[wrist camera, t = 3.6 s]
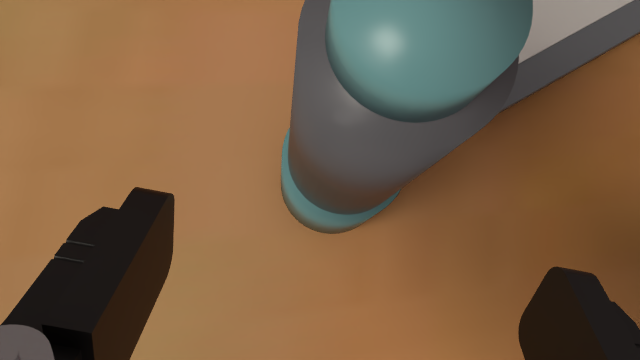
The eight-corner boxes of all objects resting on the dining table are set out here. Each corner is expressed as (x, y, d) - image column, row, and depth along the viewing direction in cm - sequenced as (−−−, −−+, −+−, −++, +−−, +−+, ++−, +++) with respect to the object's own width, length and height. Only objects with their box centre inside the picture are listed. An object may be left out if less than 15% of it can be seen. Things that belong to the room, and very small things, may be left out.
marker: (262, 164, 23) (234, -63, 8) (348, 118, 24) (474, -170, 9) (313, 252, 22) (387, 192, 7) (399, 202, 23) (630, 53, 8)
